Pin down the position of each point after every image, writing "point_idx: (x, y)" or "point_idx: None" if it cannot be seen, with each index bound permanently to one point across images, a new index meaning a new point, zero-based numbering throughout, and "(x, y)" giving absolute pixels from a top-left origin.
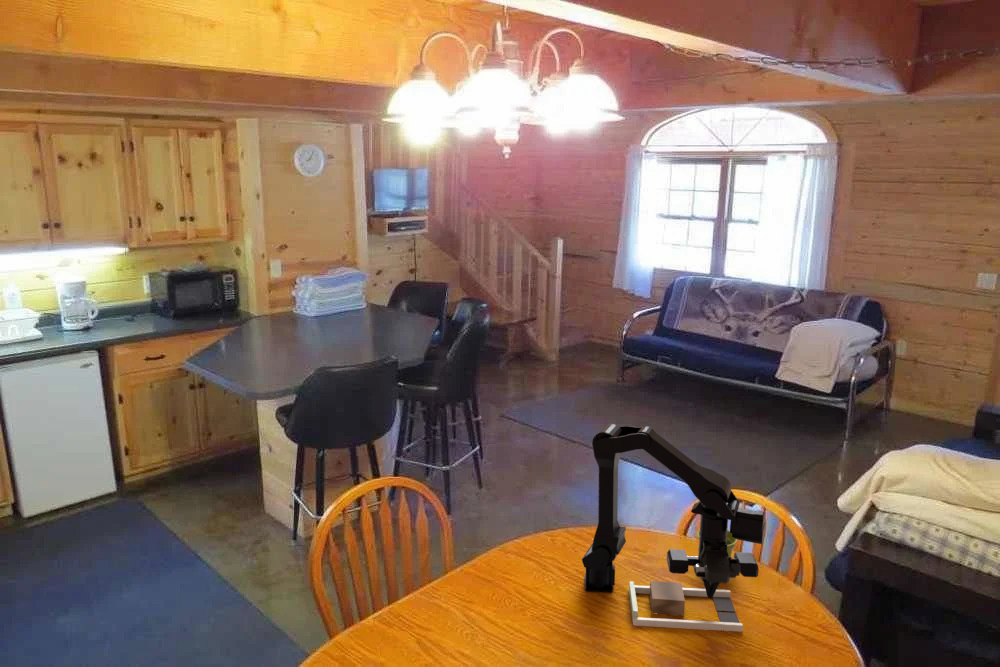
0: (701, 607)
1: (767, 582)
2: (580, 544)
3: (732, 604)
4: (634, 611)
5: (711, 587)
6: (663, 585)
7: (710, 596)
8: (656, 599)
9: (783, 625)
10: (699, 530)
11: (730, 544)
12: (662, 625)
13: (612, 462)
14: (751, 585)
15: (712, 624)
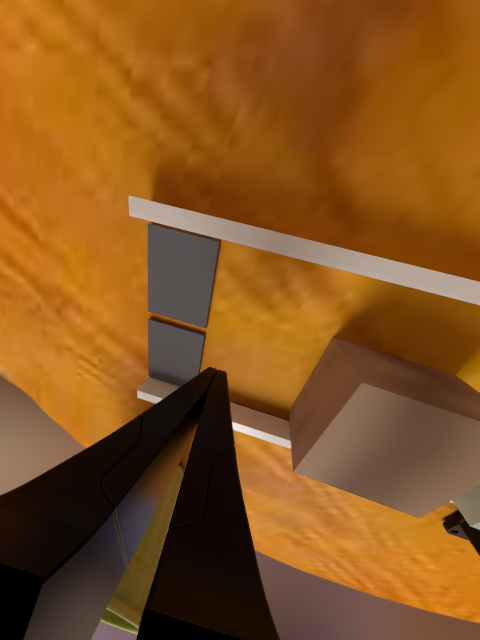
0: (246, 361)
1: (60, 398)
2: (414, 590)
3: (149, 350)
4: None
5: (186, 423)
6: (385, 485)
7: (213, 374)
8: None
9: (15, 225)
10: (135, 632)
11: None
12: None
13: None
14: (93, 400)
15: (266, 230)
